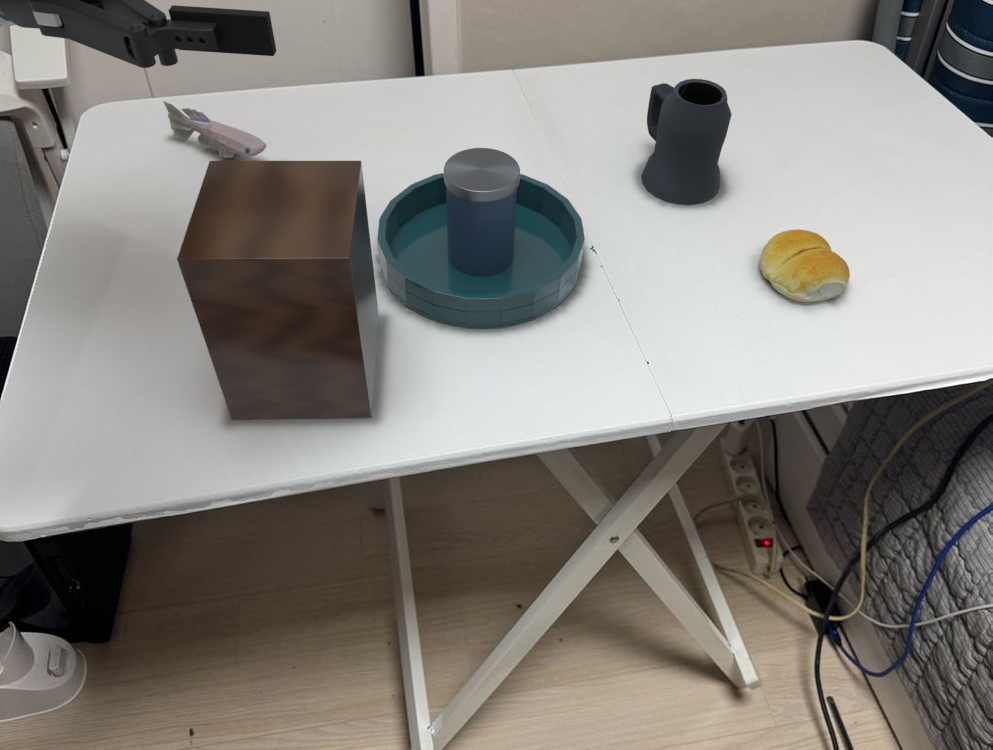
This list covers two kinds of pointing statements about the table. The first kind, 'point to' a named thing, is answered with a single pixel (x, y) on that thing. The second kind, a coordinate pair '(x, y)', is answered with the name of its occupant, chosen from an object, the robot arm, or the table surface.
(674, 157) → the mug
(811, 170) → the table surface
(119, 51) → the robot arm
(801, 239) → the bread roll
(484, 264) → the tin
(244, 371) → the brown wooden block
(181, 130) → the fish
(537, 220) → the round teal tray
